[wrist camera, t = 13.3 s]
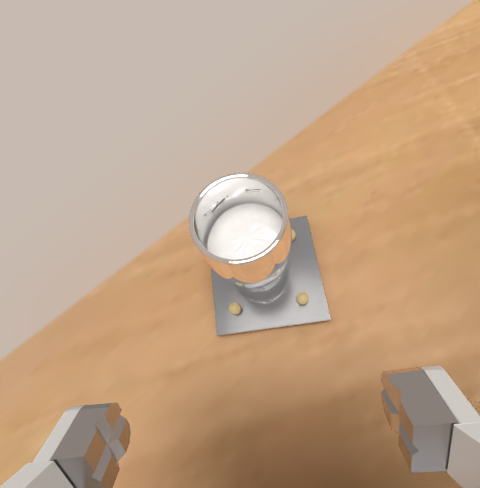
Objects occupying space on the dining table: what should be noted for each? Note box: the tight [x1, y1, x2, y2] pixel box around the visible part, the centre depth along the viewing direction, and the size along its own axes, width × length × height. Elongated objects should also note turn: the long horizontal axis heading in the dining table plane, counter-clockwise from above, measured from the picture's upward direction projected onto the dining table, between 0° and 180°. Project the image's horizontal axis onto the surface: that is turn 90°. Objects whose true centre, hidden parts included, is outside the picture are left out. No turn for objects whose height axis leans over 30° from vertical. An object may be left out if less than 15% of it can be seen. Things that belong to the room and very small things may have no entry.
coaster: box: [211, 216, 331, 336], centre depth 32 cm, size 12×12×2 cm
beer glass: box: [189, 173, 292, 301], centre depth 25 cm, size 7×7×15 cm
